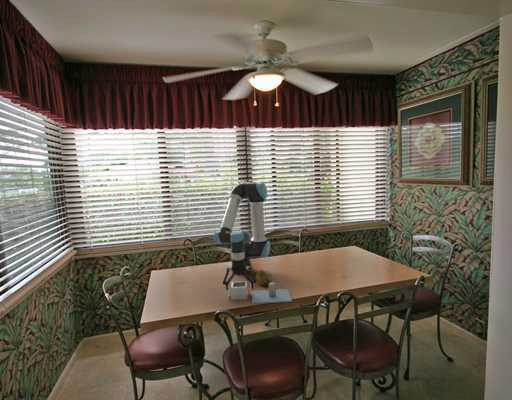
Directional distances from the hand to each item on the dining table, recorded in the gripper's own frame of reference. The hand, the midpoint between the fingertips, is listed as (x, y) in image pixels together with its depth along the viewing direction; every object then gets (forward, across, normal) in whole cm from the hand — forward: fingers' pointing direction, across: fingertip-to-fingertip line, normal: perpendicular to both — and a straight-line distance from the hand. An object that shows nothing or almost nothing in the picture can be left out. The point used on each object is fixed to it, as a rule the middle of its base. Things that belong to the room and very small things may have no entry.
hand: (240, 294), depth 172 cm
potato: (+1, +15, +16) cm, 22 cm away
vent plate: (+1, +19, -3) cm, 19 cm away
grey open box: (+1, 0, 0) cm, 1 cm away
